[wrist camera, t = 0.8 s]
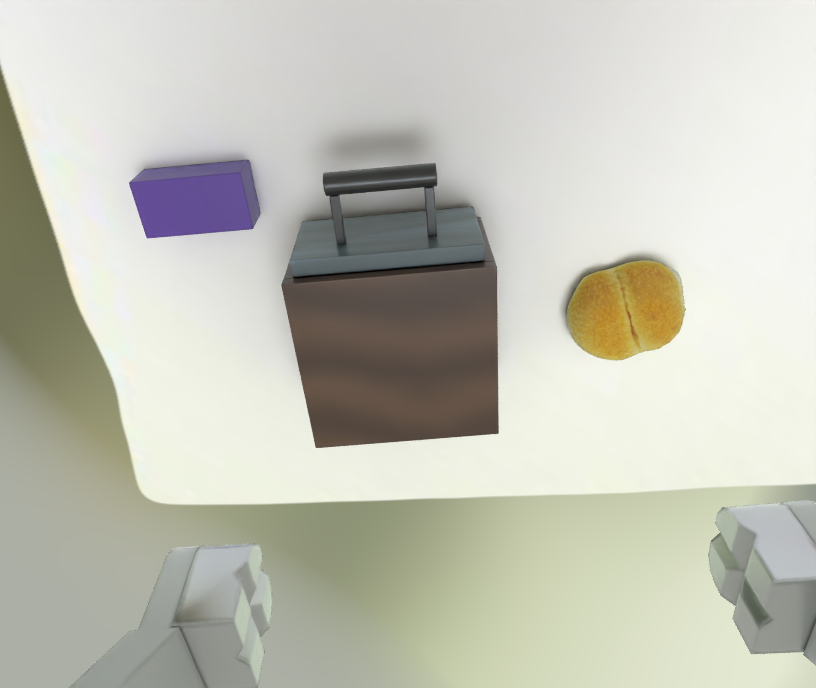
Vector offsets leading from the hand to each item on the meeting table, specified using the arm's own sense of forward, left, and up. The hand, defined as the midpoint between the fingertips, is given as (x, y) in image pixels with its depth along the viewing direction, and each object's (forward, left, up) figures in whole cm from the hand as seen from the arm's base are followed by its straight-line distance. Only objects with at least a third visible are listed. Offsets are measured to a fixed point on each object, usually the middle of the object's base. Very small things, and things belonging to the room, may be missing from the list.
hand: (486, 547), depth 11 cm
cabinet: (+15, -3, -37) cm, 40 cm away
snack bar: (+4, -16, -37) cm, 40 cm away
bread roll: (+16, +15, -37) cm, 44 cm away
